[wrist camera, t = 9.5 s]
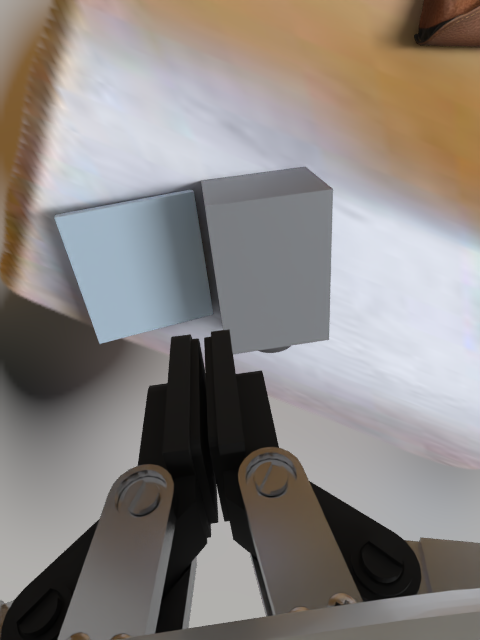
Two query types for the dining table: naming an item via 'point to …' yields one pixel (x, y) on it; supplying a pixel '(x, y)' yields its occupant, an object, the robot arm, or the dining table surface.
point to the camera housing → (271, 257)
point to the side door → (138, 263)
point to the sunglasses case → (449, 23)
